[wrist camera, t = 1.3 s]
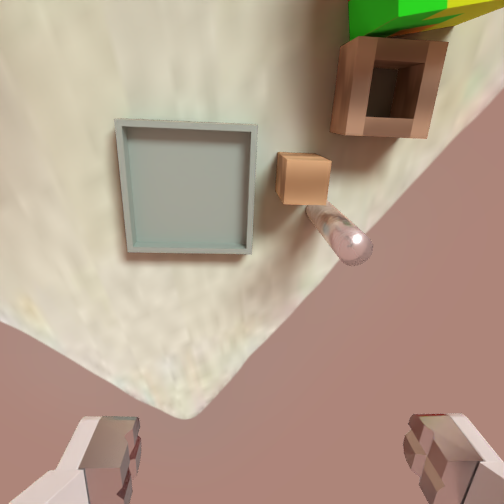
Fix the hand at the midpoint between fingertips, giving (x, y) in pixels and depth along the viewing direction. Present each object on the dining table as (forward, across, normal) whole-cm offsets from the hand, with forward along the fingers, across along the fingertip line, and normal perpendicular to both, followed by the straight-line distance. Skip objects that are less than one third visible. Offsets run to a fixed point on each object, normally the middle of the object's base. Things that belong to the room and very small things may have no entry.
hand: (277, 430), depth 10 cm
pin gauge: (+29, -8, 0) cm, 31 cm away
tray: (+29, +6, -2) cm, 30 cm away
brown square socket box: (+29, -12, -12) cm, 34 cm away
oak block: (+29, -6, -4) cm, 30 cm away
